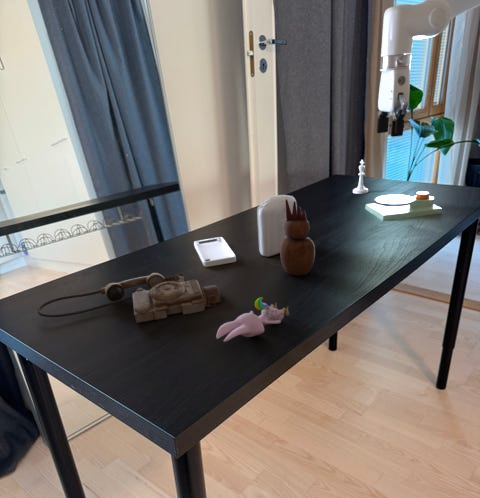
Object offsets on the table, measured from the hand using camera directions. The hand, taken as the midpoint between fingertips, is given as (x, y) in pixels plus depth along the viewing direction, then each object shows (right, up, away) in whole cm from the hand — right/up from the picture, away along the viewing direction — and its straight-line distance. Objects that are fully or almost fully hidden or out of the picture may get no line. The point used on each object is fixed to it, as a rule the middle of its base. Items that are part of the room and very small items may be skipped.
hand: (389, 134), depth 118 cm
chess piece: (-3, -11, +18) cm, 21 cm away
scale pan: (-1, -21, -5) cm, 21 cm away
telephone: (-62, -50, -39) cm, 89 cm away
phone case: (-48, -37, -19) cm, 64 cm away
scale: (+2, -23, -4) cm, 23 cm away
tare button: (+7, -20, -5) cm, 22 cm away
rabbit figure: (-40, -55, -51) cm, 85 cm away
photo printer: (-33, -37, -21) cm, 54 cm away
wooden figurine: (-31, -43, -33) cm, 62 cm away
